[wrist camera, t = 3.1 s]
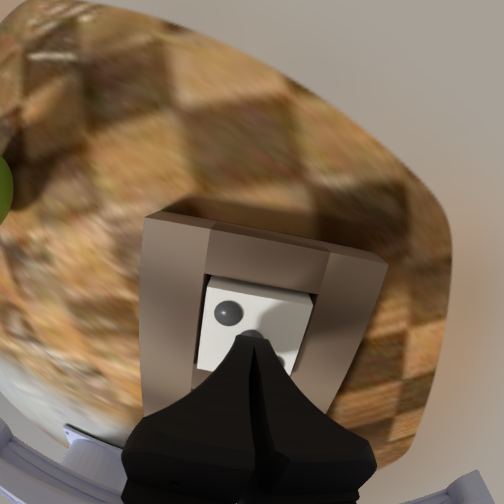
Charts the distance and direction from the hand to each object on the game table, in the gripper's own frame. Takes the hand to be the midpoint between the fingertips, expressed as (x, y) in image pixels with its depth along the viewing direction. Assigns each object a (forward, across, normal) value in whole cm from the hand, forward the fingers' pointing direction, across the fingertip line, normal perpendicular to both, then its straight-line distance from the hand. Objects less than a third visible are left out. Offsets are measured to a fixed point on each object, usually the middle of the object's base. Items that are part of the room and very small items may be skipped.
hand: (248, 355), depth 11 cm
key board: (+4, 0, +7) cm, 8 cm away
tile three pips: (+4, 0, 0) cm, 4 cm away
